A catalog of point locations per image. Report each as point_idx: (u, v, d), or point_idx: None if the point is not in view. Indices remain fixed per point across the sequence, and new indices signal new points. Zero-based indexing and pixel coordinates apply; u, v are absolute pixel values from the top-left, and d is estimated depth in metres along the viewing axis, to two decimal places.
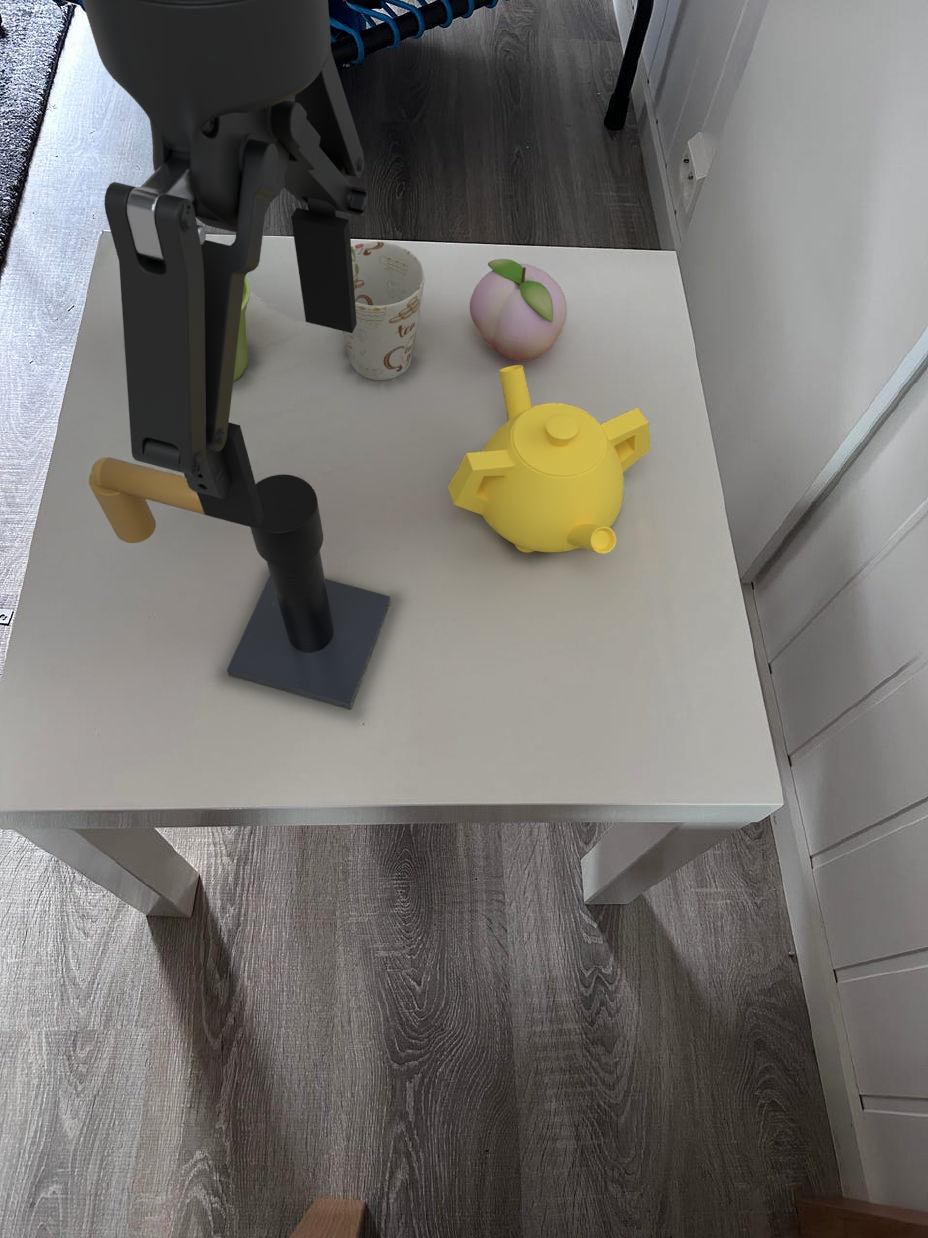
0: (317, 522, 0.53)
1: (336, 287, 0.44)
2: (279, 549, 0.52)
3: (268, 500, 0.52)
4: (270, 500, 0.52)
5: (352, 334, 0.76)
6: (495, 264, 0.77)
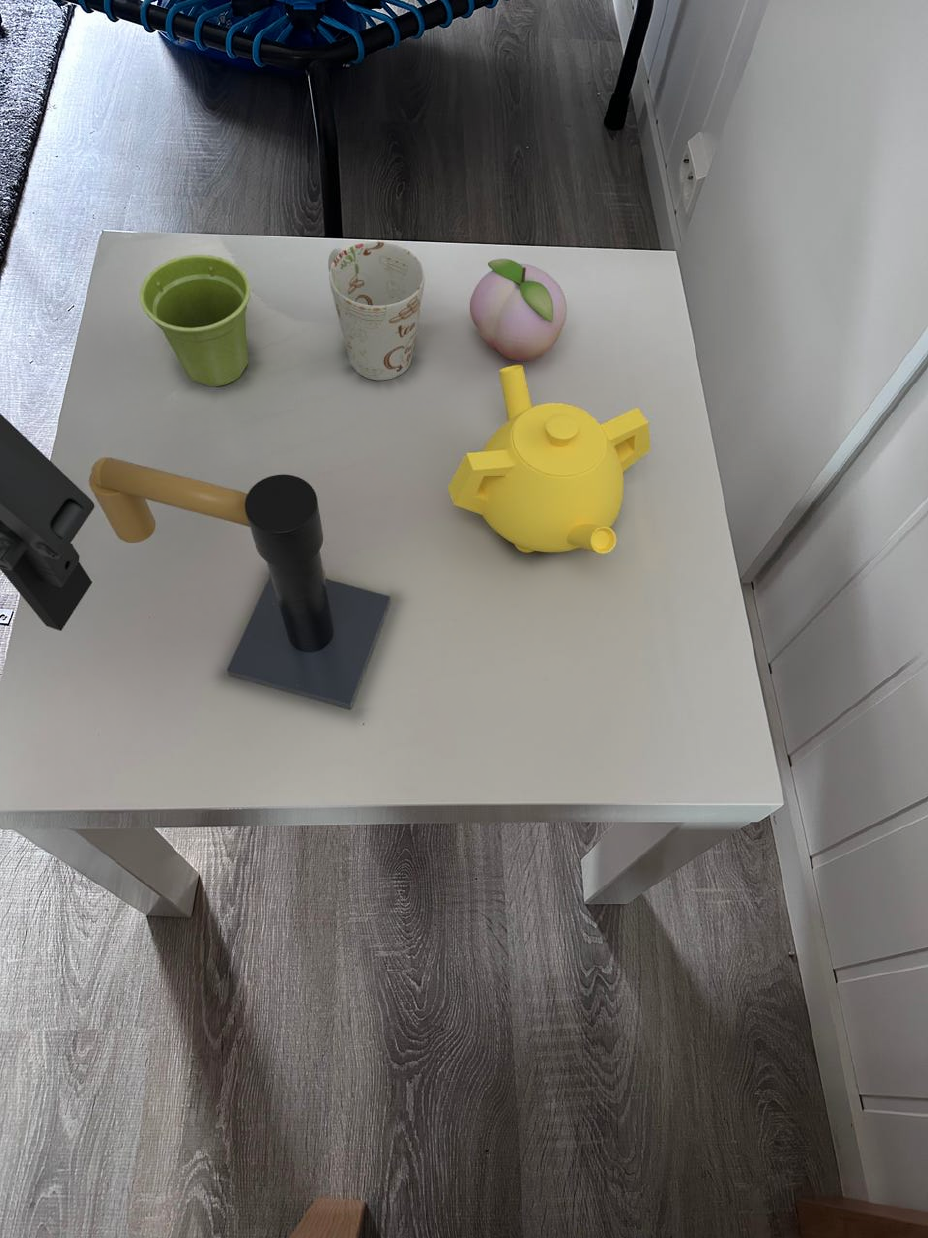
0: (317, 522, 0.53)
1: None
2: (279, 549, 0.52)
3: (268, 500, 0.52)
4: (270, 500, 0.52)
5: (352, 334, 0.76)
6: (495, 264, 0.77)
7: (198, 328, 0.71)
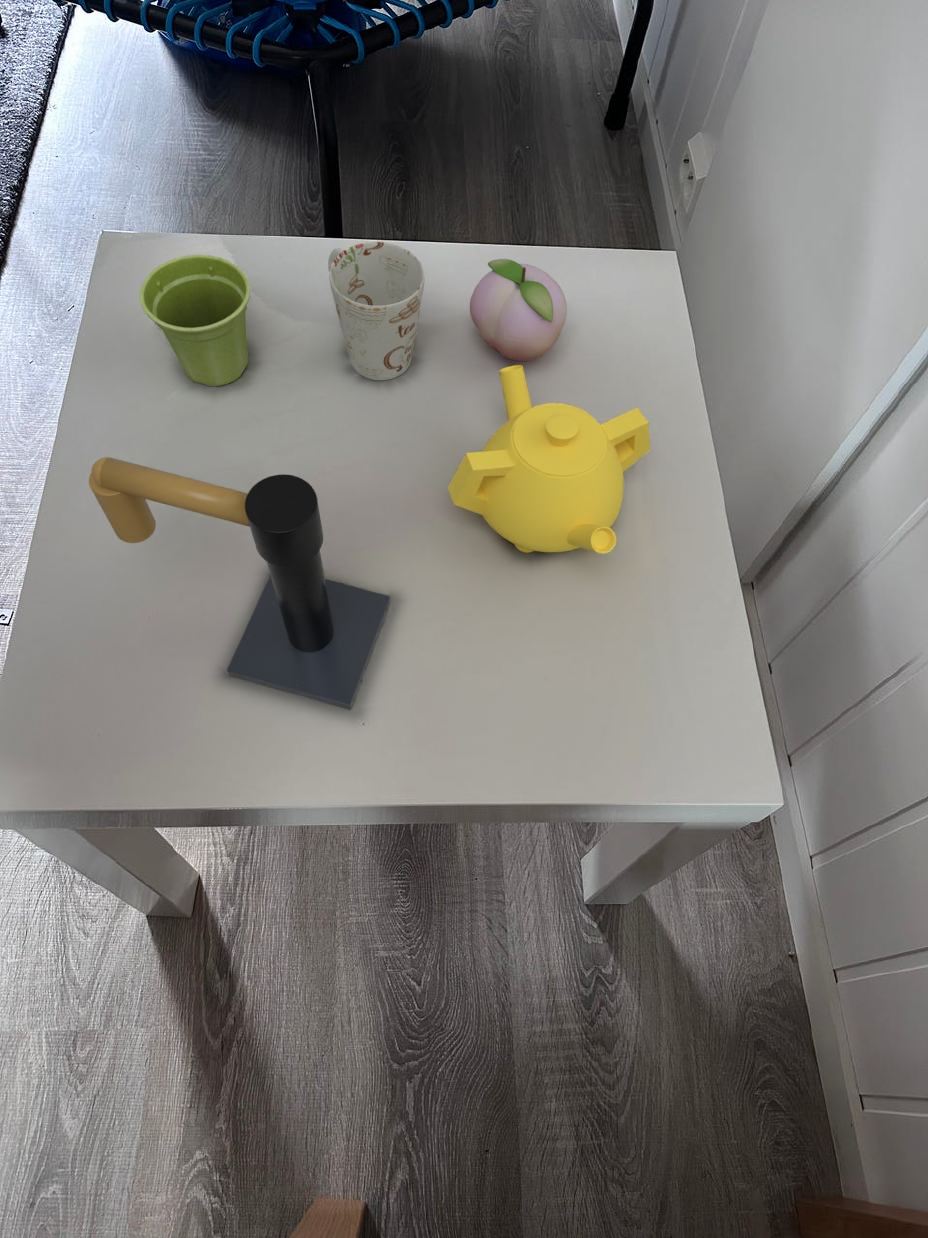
0: (317, 522, 0.53)
1: None
2: (279, 549, 0.52)
3: (268, 500, 0.52)
4: (270, 500, 0.52)
5: (352, 334, 0.76)
6: (495, 264, 0.77)
7: (198, 328, 0.71)
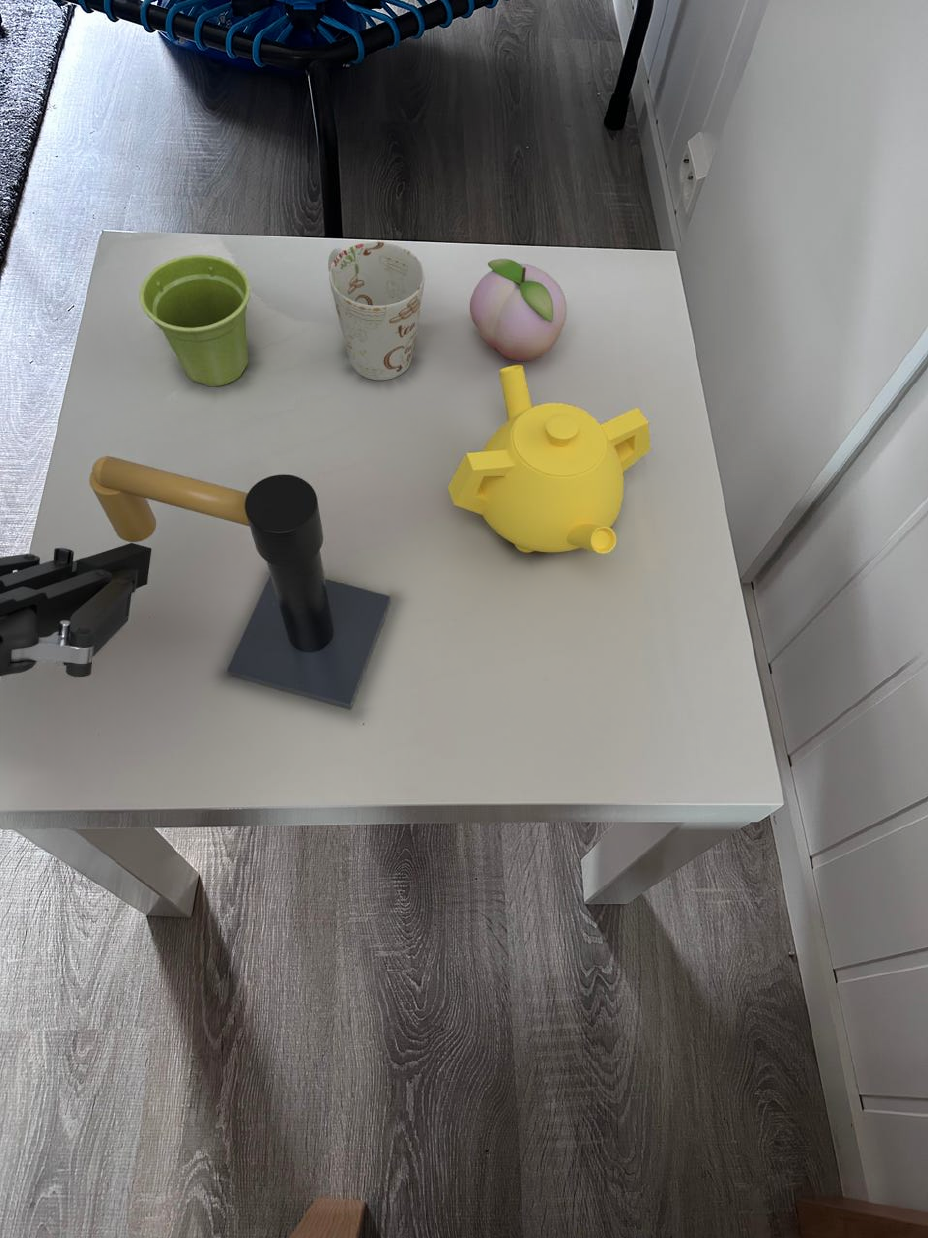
0: (317, 522, 0.53)
1: None
2: (279, 549, 0.52)
3: (268, 500, 0.52)
4: (270, 500, 0.52)
5: (352, 334, 0.76)
6: (495, 264, 0.77)
7: (198, 328, 0.71)
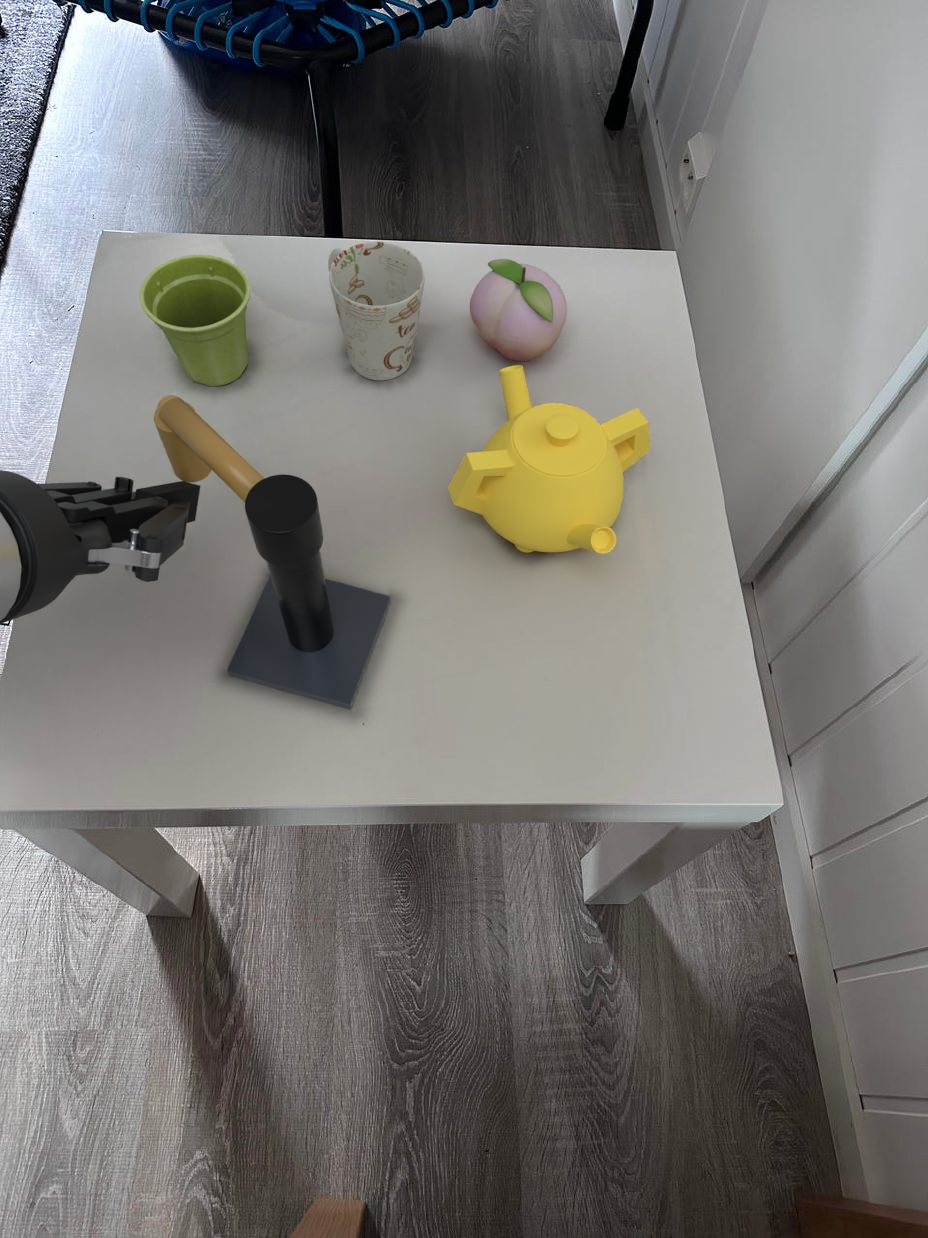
0: (307, 535, 0.52)
1: None
2: (262, 543, 0.52)
3: (271, 495, 0.52)
4: (273, 496, 0.52)
5: (352, 334, 0.76)
6: (495, 264, 0.77)
7: (198, 328, 0.71)
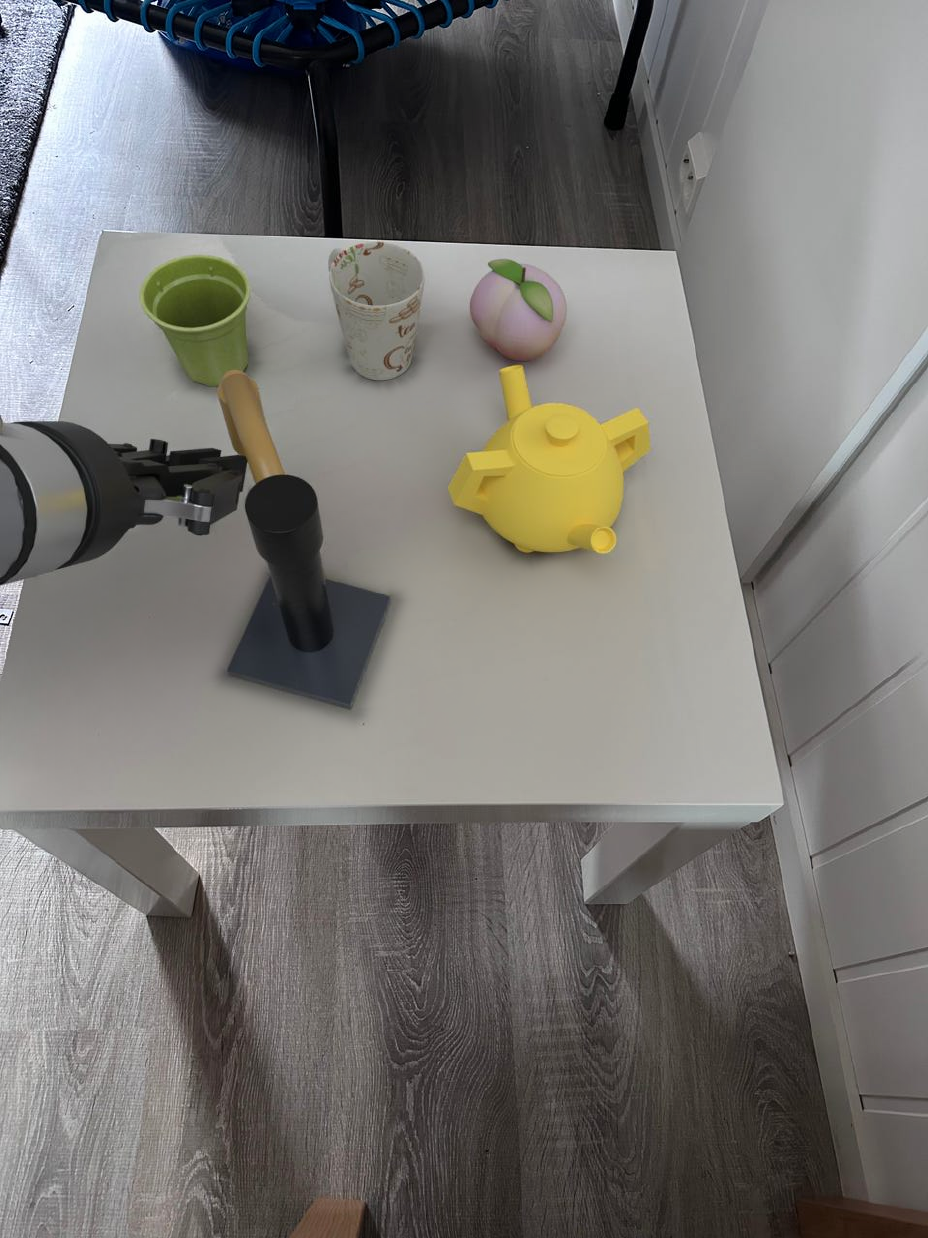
0: (294, 541, 0.52)
1: None
2: (253, 535, 0.53)
3: (276, 493, 0.52)
4: (277, 494, 0.52)
5: (352, 334, 0.76)
6: (495, 264, 0.77)
7: (198, 328, 0.71)
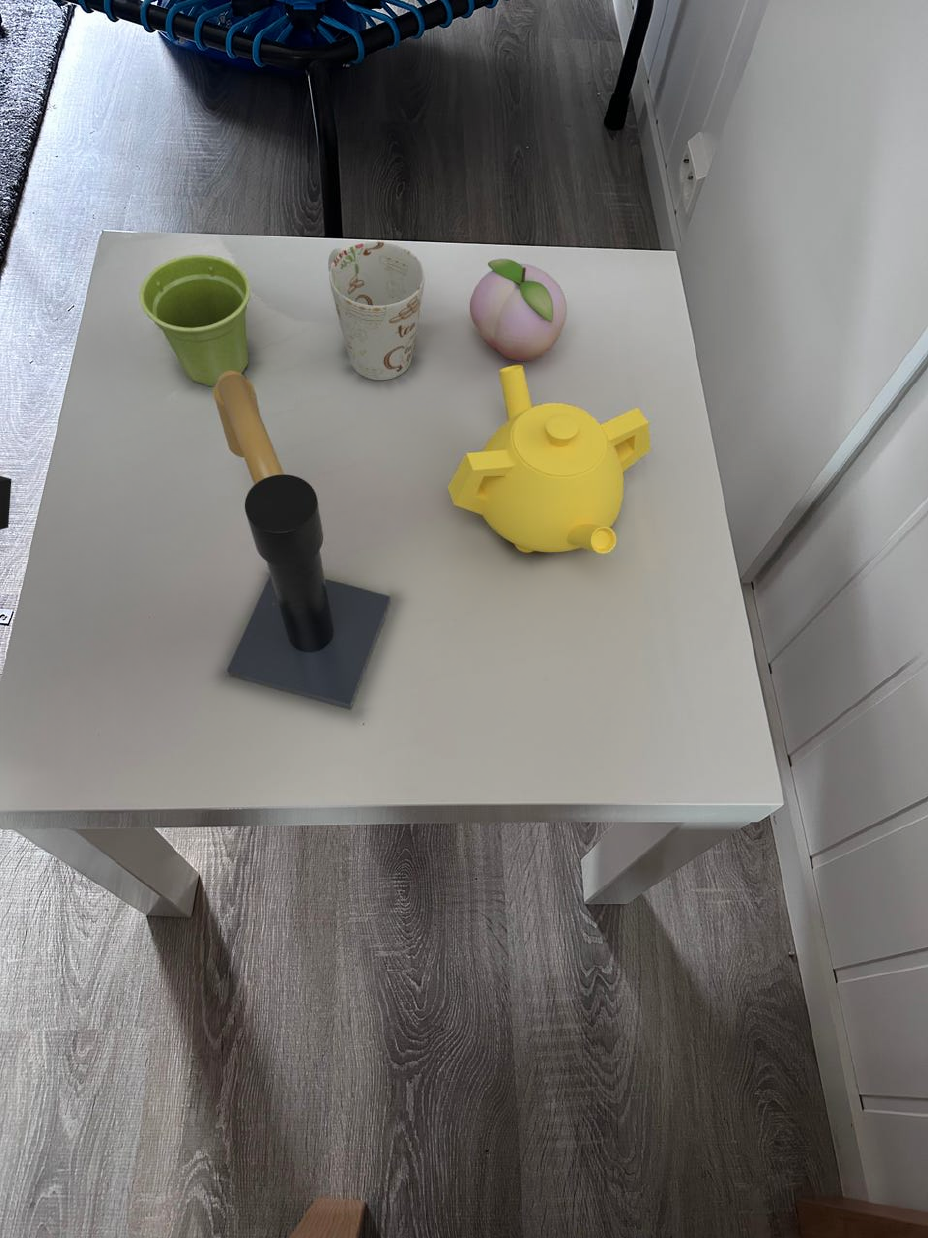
0: (295, 541, 0.52)
1: None
2: (254, 536, 0.53)
3: (275, 493, 0.52)
4: (277, 494, 0.52)
5: (352, 334, 0.76)
6: (495, 264, 0.77)
7: (198, 328, 0.71)
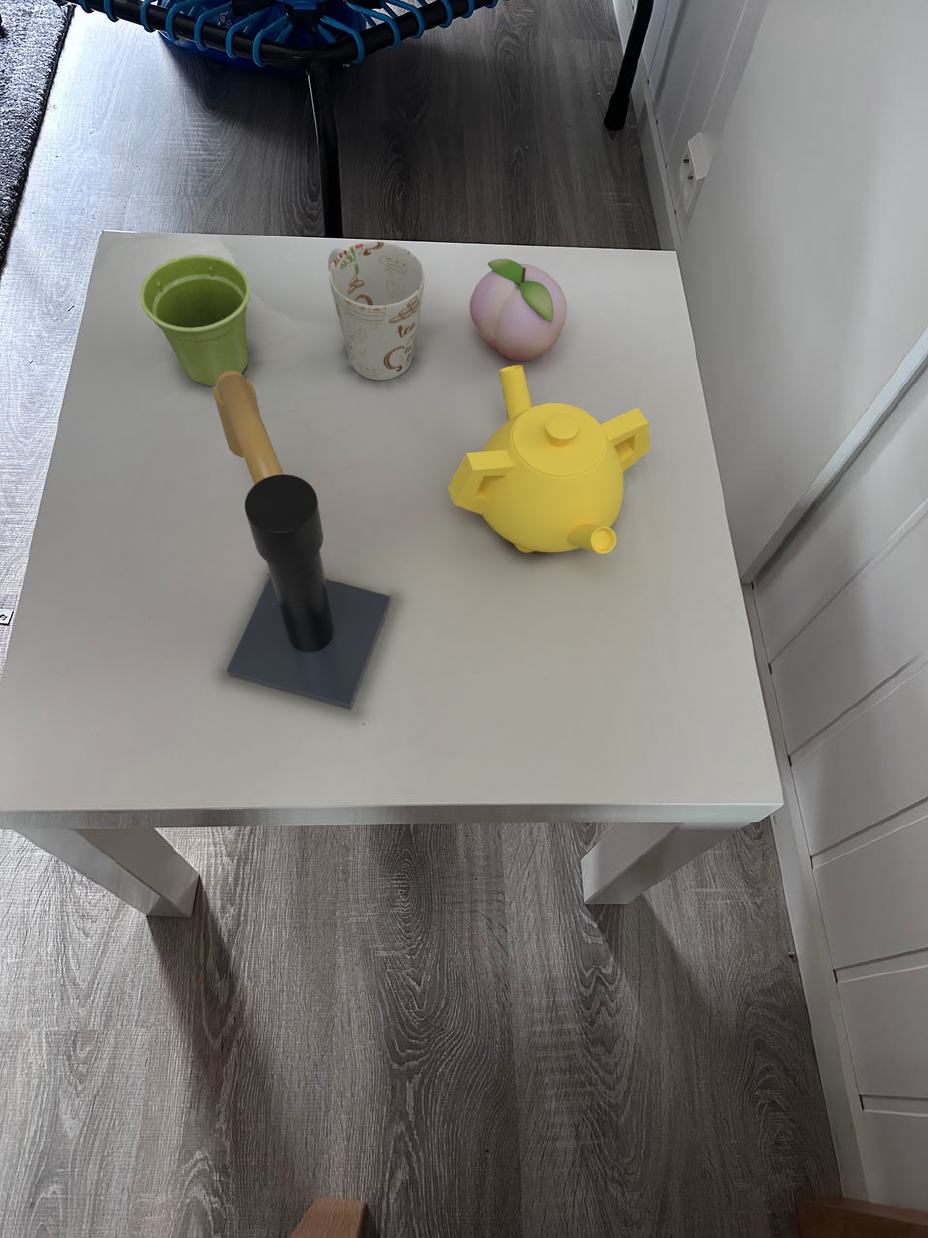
0: (295, 541, 0.52)
1: None
2: (254, 536, 0.53)
3: (275, 493, 0.52)
4: (277, 494, 0.52)
5: (352, 334, 0.76)
6: (495, 264, 0.77)
7: (198, 328, 0.71)
